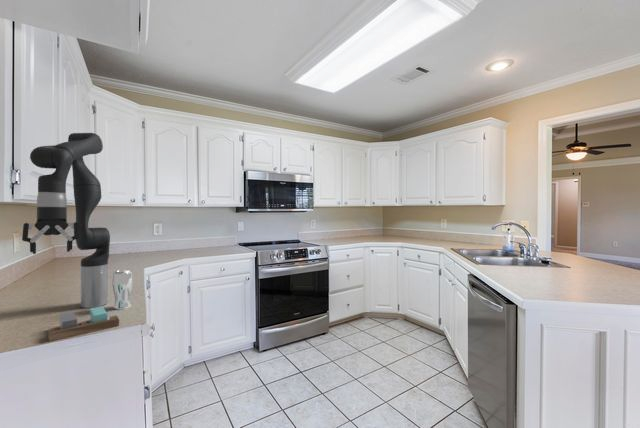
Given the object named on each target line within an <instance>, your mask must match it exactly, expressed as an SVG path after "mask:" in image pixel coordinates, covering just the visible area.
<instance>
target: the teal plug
mask: <svg viewBox="0 0 640 428" xmlns="http://www.w3.org/2000/svg"><path fill="white" fill-rule="evenodd" d="M103 306H104V305H102V306H97V307H91V308H89V323H95V322H100V321H104V320H108V313H107V311H106V309H105V308H104V307H103Z"/></svg>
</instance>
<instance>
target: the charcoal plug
mask: <svg viewBox="0 0 640 428" xmlns="http://www.w3.org/2000/svg"><path fill="white" fill-rule="evenodd" d="M59 317H60V318H59V324H60V325H59V328H60V329H59V330H62V329H67V328H71V327H76V326H78V318H77V316H76V313H75V311H69V312H64V313H60V314H59Z"/></svg>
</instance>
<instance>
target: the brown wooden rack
mask: <svg viewBox="0 0 640 428" xmlns="http://www.w3.org/2000/svg"><path fill="white" fill-rule="evenodd" d="M118 326H120V318H119V317H118V315H116V314H115V315H111V316H109V319H107V320H104V321H100V322H95V323H91V322H90V320H89V321H88V320H87V321H82V322H81V321H80V325H77V326H76V327H71V328H67V329H62V330H61V329H58V327H53V328H48V336H47V337H48V343H49V342H50V343H51V342H54V341H59V340H64V339H68V338H72V337H77V336H79V335H84V334H88V333H93V332H97V331H98V332H99V331H101V330H106V329H111V328H115V327H118Z"/></svg>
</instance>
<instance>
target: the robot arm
mask: <svg viewBox="0 0 640 428" xmlns="http://www.w3.org/2000/svg"><path fill="white" fill-rule="evenodd" d="M103 146H104V145H103V141H102V138H101V136H100V135H98V134H97V133H93V132H73V133H70V134H69V135H68V138H67V141H64V142H61V143H58V144H55V145H54V144H53V145H42V146H37V147H35V148H33V149H32V150H31V152H30V156H29V159H30V161H31V163H32V164H33V165H34V166H36V167H38V168H41V169H54V172H52V173H50V174H44V175H40V176H38V179H37V196H36V197H37V198H36V222H35V223H28V222H24V223H23V224H22V225H23V226H22V238H21V240H22V242H27V243H29V252H30V253H32V254H33V255H37V242H36V241H37V240H38V239H39V238H41V237H42V236H59V235H62V236H63V237H64V238H65V239H66V240H67V241H66V253H70V252H71V251H73V241H75V243H76V244H75V245H76V247H77V248H78V250H80V251H87V250H95V251H94V252H93V253H92V254H90V255H87V256H85V257H83V258H81V260H80V307H81V308H85V309H87V308H89V309H90V308H96V307H101V306H104V305H106V304H108V302H109V301H108V300H109V299H108V298H109V258H110V243H111V235H110V231H109V229H108V228H107V227H89V221H90V217H91V216H92V213H93V211H94V210H95V209H96V207H97V206H98V205H99V203H100V202H101V199H102V188H101V187H102V186H101V182H100V180H99V178H98V177H96V176H95V174H94V173H93V172H92V171H91V170H90V169H89V167H87V165H86V163H85V160H84V157H85V156H88V155H97V154H100V153H101V152H102V151H103V149H104V147H103ZM71 169H72V178H73V179H72V182H73V183H72V187H73V197H74V205H75V222H68V221H67V217H68V216H67V215H68V214H67V213H68V212H67V211H68V209H67V207H68V206H67V205H68V203H67V194H66V193H67V192H66V191H67V190H66V189H67V180H68V176H69V173H70V170H71ZM34 227H35V229H37V231H38V232H37V233H36V234H34V235H33V237H32V238H31V237H29V230H32V229H33V228H34ZM68 227H70V228H71V229H72V230H73V236H71V235H70V234H68V232H66V229H67V228H68Z"/></svg>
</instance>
